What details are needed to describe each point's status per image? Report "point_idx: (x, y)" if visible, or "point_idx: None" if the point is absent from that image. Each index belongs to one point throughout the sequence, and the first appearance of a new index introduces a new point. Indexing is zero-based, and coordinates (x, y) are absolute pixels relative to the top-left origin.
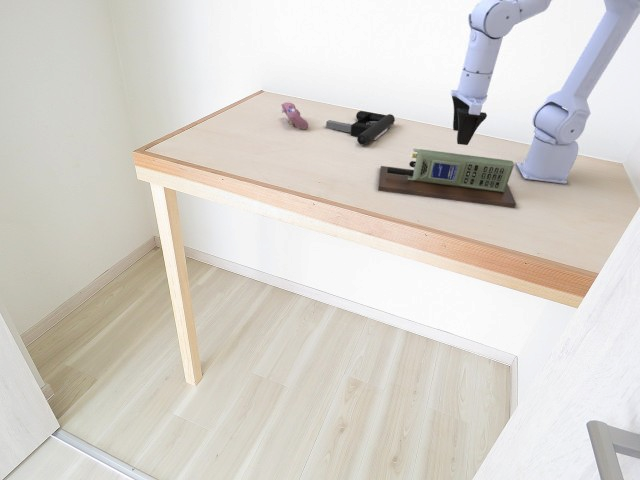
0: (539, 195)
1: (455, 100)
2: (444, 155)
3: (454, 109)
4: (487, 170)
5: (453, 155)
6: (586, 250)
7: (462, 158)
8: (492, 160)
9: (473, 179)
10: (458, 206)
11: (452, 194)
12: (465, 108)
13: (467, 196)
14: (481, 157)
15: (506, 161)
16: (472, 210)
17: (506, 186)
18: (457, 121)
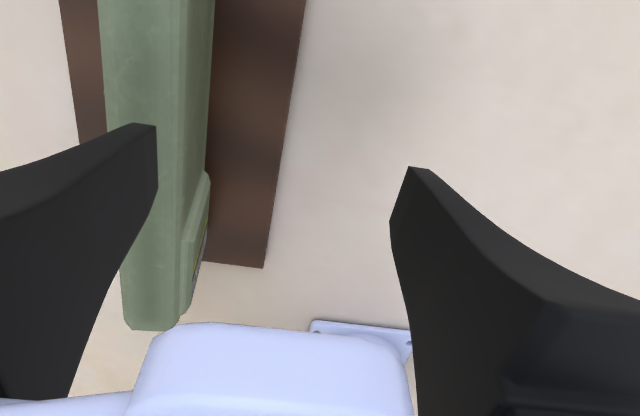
0: (212, 320)
1: (521, 318)
2: (108, 5)
3: (476, 248)
4: None
5: (122, 73)
6: None
7: (111, 123)
8: (134, 263)
9: None
10: (20, 33)
11: (72, 24)
12: (440, 340)
13: (81, 92)
14: (161, 227)
15: (148, 311)
16: (12, 87)
17: (219, 257)
18: (421, 219)
